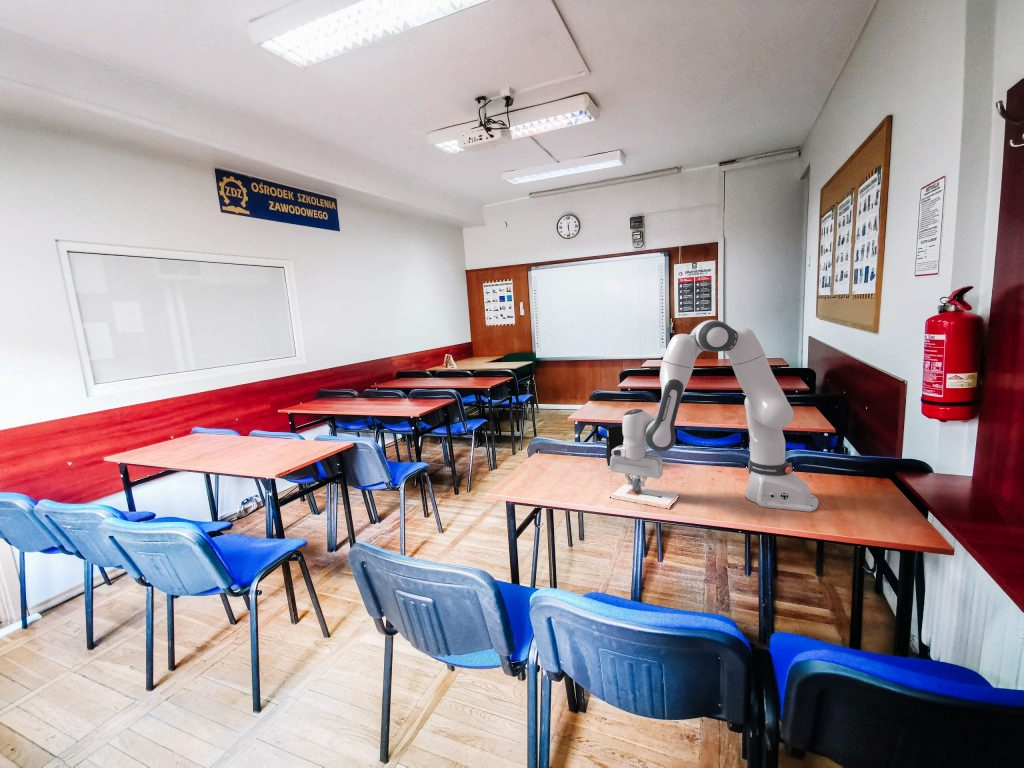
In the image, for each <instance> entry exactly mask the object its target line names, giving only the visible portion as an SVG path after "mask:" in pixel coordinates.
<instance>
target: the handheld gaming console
mask: <svg viewBox="0 0 1024 768" xmlns="http://www.w3.org/2000/svg"><path fill="white" fill-rule="evenodd" d="M605 439H606V440H605V441H606V449H605V452H606V453H605V454H606V457H605V458H606V464H607V466H610V458H611V456H612V454H611V451H612V450H613V449H614V448H616V447H617V446H620V445H623V441H624V436H623V432H622V424H621V423H620V424H616V425H609V426H606V434H605Z"/></svg>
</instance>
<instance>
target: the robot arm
mask: <svg viewBox="0 0 1024 768" xmlns="http://www.w3.org/2000/svg"><path fill="white" fill-rule="evenodd" d="M705 351H706V352H710V353H711V352H712V353H720V352H725V353H726V355H727V356H728V359H729V362H730V365H731V367H732V370H733V372H734V375H735V377H736V379H737V382H738V385H739V386H740V387H741V390H742V392H743V393H744V394H745V396H746V397H745V399H744V408H745V413H746V415H745V416H746V422H747V429H748V434H749V459H748V462H747V463H748V474H749V475H748V483H747V488H746V491H745V498H747V500H749V501H751V502H754V503H756V504H757V505H758V506H760V507H762V508H769V509H771V508H772V509H781V510H788V511H789V510H790V511H799V512H808V513H809V512H810V513H811V512H813V511H816V510H817V509H818V508H819V499H818V498H817V497H816V495H814V494H811V489H810V486H809V484H808V482H806V481H805V480H803V479H802V478H800V477H799V476H798V475H796V474H795V473H794V472H792V471H793V466H792V465H793V464H792V462H788V461H786V438H785V436H784V432H783V428H786V427H787V426H789V425H790V424H791V423H792V422H793V419H794V416H795V415H794V414H795V412H794V409H793V408H792V406H791V404H790V403H789V400H788V399H787V397H786V395H785V392H784V391H783V389H782V387H781V386H780V384H779V383H778V381H777V379H776V377H775V375H774V373H773V371H772V368H771V366H770V363H769V361H768V358H767V356H766V353H765V350H764V348H763V346H762V344H761V342H760V341H759V339H758V337H757V336H756V334H755V333H754V331H753V330H751V329H750V328H747V327H740V328H739V327H738V328H736V329H734V328H732V327H731V326H730V325H729V324H727V323H725V322H724V321H721V320H717V319H708V320H702V321H701V322H699V323H698V324H696V325H695V326H694V327H693V328H692V329H691V330H690V331H689V332H688V333H678V334H674V335H673V336H672V338H671V339H670V340H669V342H668V345H667V347H666V349H665V352H664V354H663V358H662V360H661V364H660V369H659V381H660V388H661V389H660V390H661V398H660V404H659V407H658V412H657V415H653V414H652V413H651V414H650V413H648V412H646V411H645V410H643V409H641V408H634V409H629V410H628V411H626V412H625V413H624V414H623V416H622V432H623V436H624V441H623V445H620V446H617V447H616V448H614V449H613V450H612V451H611V454H612V456H611V458H610V468H609V469H610V471H611V472H614V473H619V474H624V476H625V478H626V481H627V483H628V484H627V485H631V486H632V475H637V476H641V479H642V480H641V481H640V482H639V484H640V485H639V486H641V487H642V488H645V485H646V481H647V479H648V478H652V479H660V478H662V476H663V475H664V470H663V465H662V464H663V458H662V456H661V455H659V454H658V452H659V453H663V452H667V451H669V450H671V449H672V448H673V447H674V446H675V445H676V440H677V439H676V438H677V437H676V436H677V435H676V431H675V423H676V419H677V415H678V412H679V408H680V405H681V400H682V397H683V395H684V392H685V389H686V387H687V386H688V384H689V380H690V379H691V376H692V373H693V370H694V367H695V363H696V360H697V358H698V356H699V354H701V353H702V352H705ZM647 446H648V447H649V448H650V449H651V450H653V451H654V452H657V453H652V452H648V447H647Z"/></svg>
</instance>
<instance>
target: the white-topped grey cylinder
mask: <svg viewBox="0 0 1024 768" xmlns="http://www.w3.org/2000/svg"><path fill="white" fill-rule="evenodd" d="M631 479H632V485H631V486H632V491H633V492H636V493H638V492H641V486H639V485H640V484H639V482H640V481H642V480H641V479H642V476H637V475H631Z"/></svg>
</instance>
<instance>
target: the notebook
mask: <svg viewBox="0 0 1024 768" xmlns="http://www.w3.org/2000/svg"><path fill="white" fill-rule="evenodd" d="M611 495H613V496H618V497H624V498H629V499H635V500H641V501H645V500H646V502H651V503H656V504H661V505H666V506H668V505H669V504H670V503H671V502H672V501H673V500H674V499H675V498H676V497H677V496H678V495H679V493H677V492H672V491H665V490H659V489H654V488H648V487H641V492H638V493H636V492H633V491H632V485H629V484H625V483H624V484H622V486H620V487H619V488H618V489H616V491H614V492H613V493H612V494H611Z"/></svg>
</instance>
